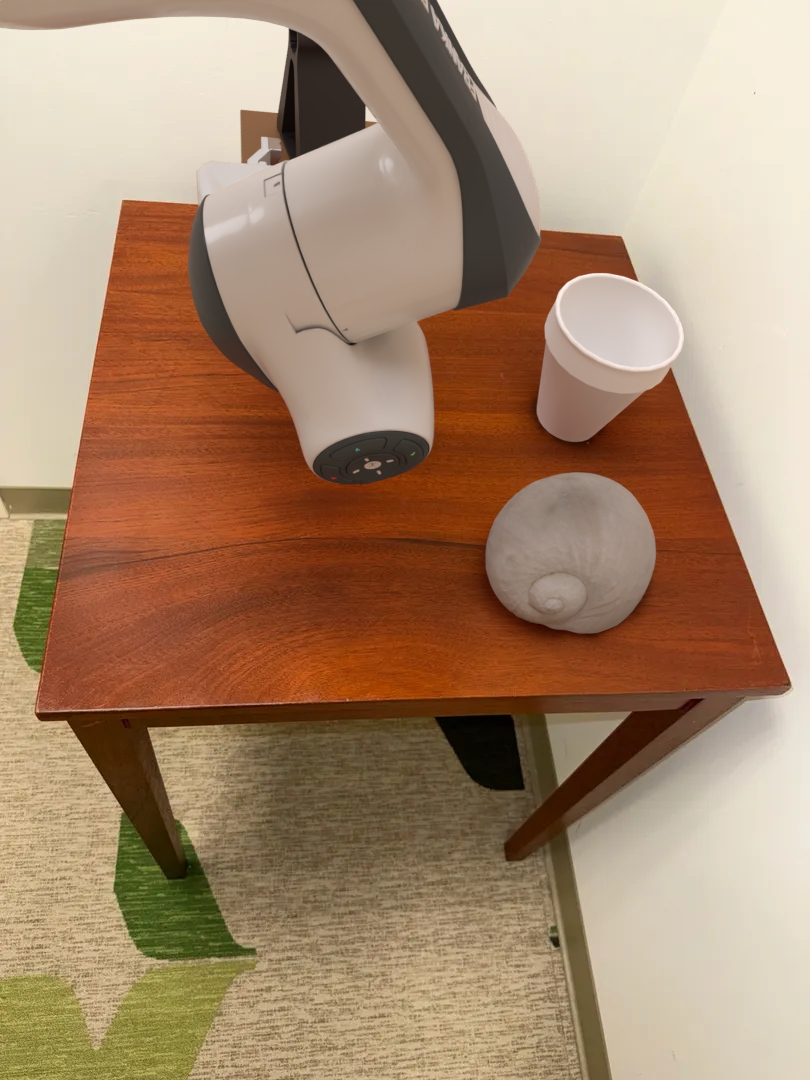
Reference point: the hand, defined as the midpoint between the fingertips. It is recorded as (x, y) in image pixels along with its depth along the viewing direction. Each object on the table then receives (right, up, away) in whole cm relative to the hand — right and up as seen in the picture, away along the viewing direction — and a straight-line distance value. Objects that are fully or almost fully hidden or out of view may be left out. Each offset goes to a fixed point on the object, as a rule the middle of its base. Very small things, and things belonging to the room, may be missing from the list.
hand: (332, 151), depth 59 cm
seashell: (+20, -33, +12) cm, 40 cm away
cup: (+23, -17, +21) cm, 36 cm away
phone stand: (-2, +6, +12) cm, 14 cm away
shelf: (-4, -1, +26) cm, 26 cm away
